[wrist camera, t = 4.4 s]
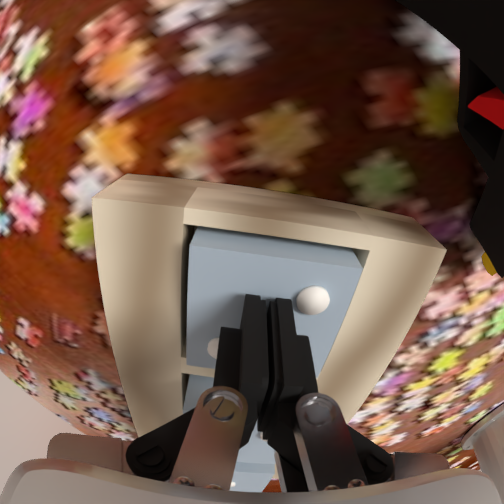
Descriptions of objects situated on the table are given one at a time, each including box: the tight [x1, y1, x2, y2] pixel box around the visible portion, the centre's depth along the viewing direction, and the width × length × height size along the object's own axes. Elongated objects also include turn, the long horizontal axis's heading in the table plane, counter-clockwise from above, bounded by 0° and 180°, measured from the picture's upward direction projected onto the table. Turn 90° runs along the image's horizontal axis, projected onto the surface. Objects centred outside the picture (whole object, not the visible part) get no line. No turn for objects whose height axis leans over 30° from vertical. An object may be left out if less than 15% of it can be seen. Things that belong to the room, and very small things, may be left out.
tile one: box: [229, 462, 275, 492], centre depth 19 cm, size 6×6×3 cm
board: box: [92, 174, 447, 479], centre depth 17 cm, size 14×24×4 cm, turn 172°
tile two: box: [183, 374, 276, 464], centre depth 15 cm, size 6×6×3 cm
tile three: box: [186, 226, 363, 378], centre depth 12 cm, size 6×6×3 cm
